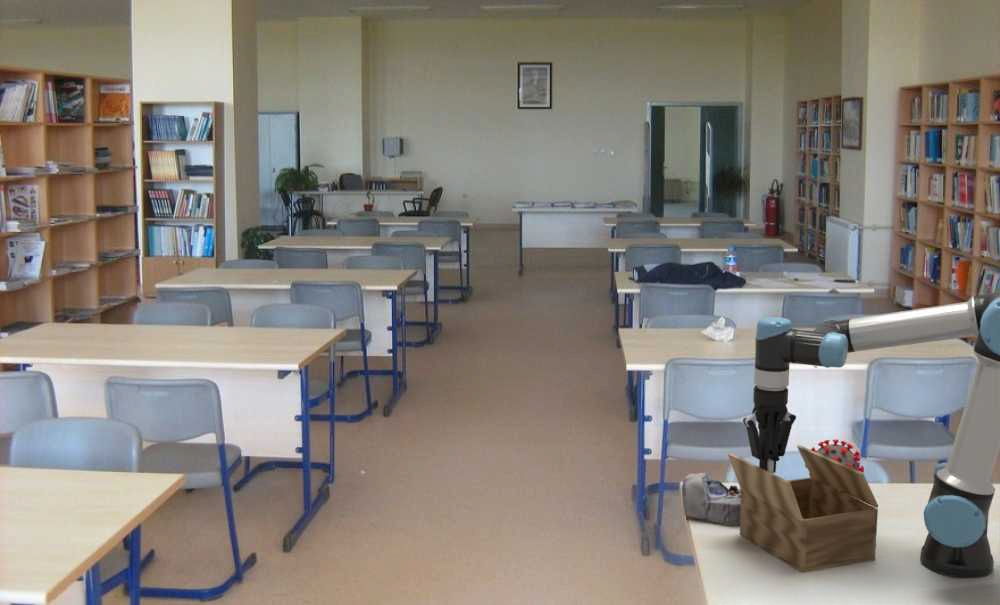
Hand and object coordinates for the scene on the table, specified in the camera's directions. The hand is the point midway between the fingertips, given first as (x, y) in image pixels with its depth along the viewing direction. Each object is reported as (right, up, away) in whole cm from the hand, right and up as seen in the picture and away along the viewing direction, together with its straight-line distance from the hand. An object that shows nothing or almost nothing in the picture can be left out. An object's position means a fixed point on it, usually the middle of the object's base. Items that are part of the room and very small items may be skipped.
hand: (766, 486), depth 250 cm
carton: (+10, -15, +6) cm, 19 cm away
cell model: (-5, -12, +25) cm, 29 cm away
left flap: (-1, +1, -1) cm, 1 cm away
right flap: (+18, +1, +6) cm, 19 cm away
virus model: (+28, -9, +43) cm, 52 cm away
